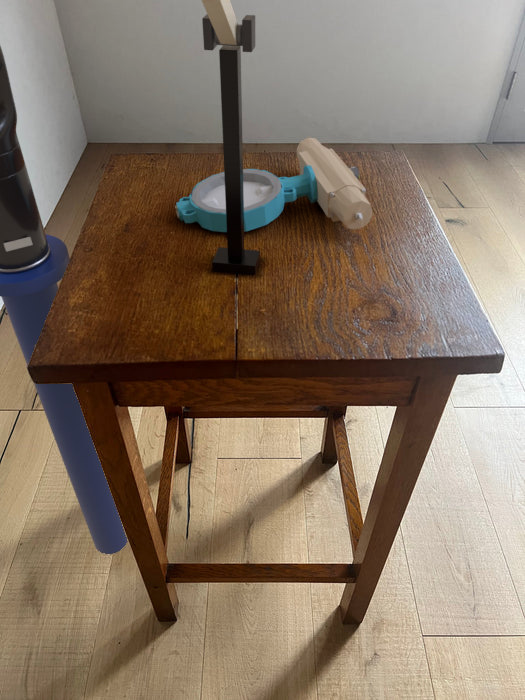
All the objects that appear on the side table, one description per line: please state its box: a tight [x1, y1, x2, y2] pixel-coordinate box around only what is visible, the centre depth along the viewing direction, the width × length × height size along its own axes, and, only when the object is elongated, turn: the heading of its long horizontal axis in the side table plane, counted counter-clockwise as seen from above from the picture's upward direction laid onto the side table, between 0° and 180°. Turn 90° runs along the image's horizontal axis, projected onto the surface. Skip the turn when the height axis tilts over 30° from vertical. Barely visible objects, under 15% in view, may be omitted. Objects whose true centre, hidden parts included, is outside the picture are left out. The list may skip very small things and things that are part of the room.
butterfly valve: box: [174, 137, 374, 233], centre depth 90 cm, size 27×7×30 cm
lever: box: [201, 0, 243, 47], centre depth 53 cm, size 3×16×3 cm
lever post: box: [201, 13, 261, 276], centre depth 69 cm, size 6×4×31 cm, turn 81°
